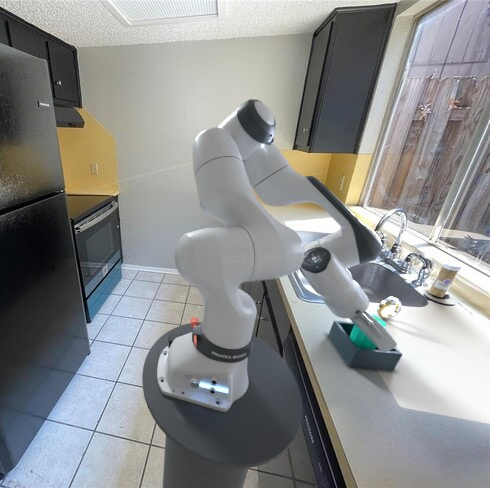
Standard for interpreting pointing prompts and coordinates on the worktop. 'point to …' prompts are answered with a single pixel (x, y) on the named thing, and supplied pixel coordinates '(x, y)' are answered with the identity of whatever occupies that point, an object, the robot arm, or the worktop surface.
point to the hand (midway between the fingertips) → (370, 332)
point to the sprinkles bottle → (444, 279)
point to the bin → (361, 350)
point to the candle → (364, 336)
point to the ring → (393, 301)
